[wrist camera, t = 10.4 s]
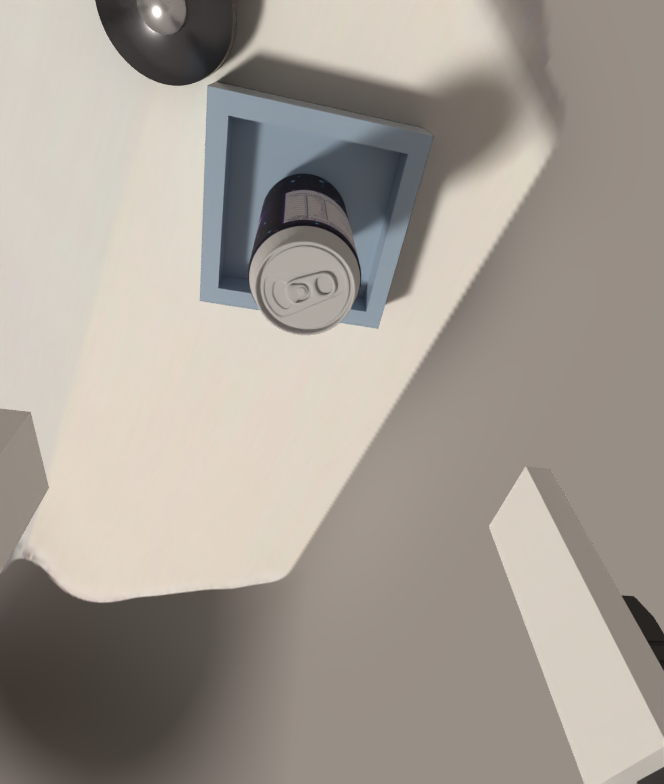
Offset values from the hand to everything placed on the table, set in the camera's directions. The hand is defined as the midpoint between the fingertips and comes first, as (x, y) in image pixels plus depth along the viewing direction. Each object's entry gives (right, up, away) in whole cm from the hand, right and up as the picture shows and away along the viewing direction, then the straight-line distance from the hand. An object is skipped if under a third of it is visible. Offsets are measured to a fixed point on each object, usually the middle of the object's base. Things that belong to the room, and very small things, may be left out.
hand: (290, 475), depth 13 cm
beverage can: (-1, +15, +19) cm, 24 cm away
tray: (-1, +15, +20) cm, 25 cm away
